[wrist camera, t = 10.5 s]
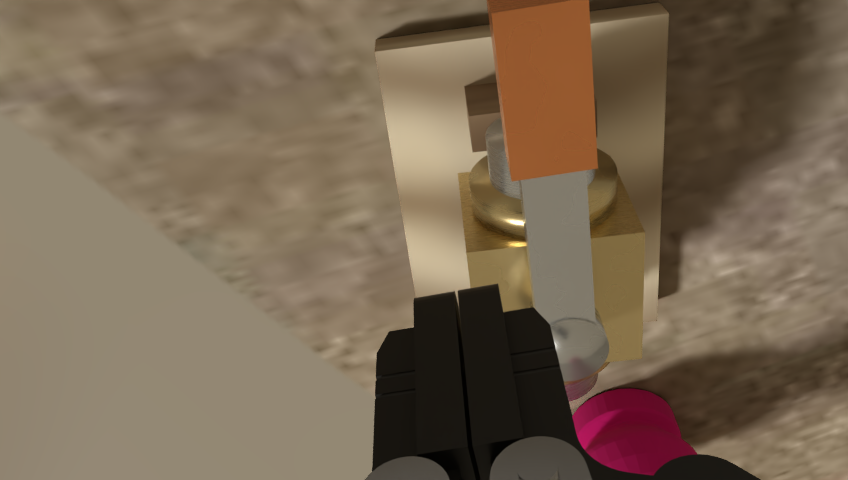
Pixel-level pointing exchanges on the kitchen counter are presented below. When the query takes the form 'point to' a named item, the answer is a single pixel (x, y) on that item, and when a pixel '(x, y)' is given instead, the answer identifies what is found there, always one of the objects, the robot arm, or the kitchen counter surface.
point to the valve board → (450, 142)
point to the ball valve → (507, 255)
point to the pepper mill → (630, 431)
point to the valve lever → (552, 162)
